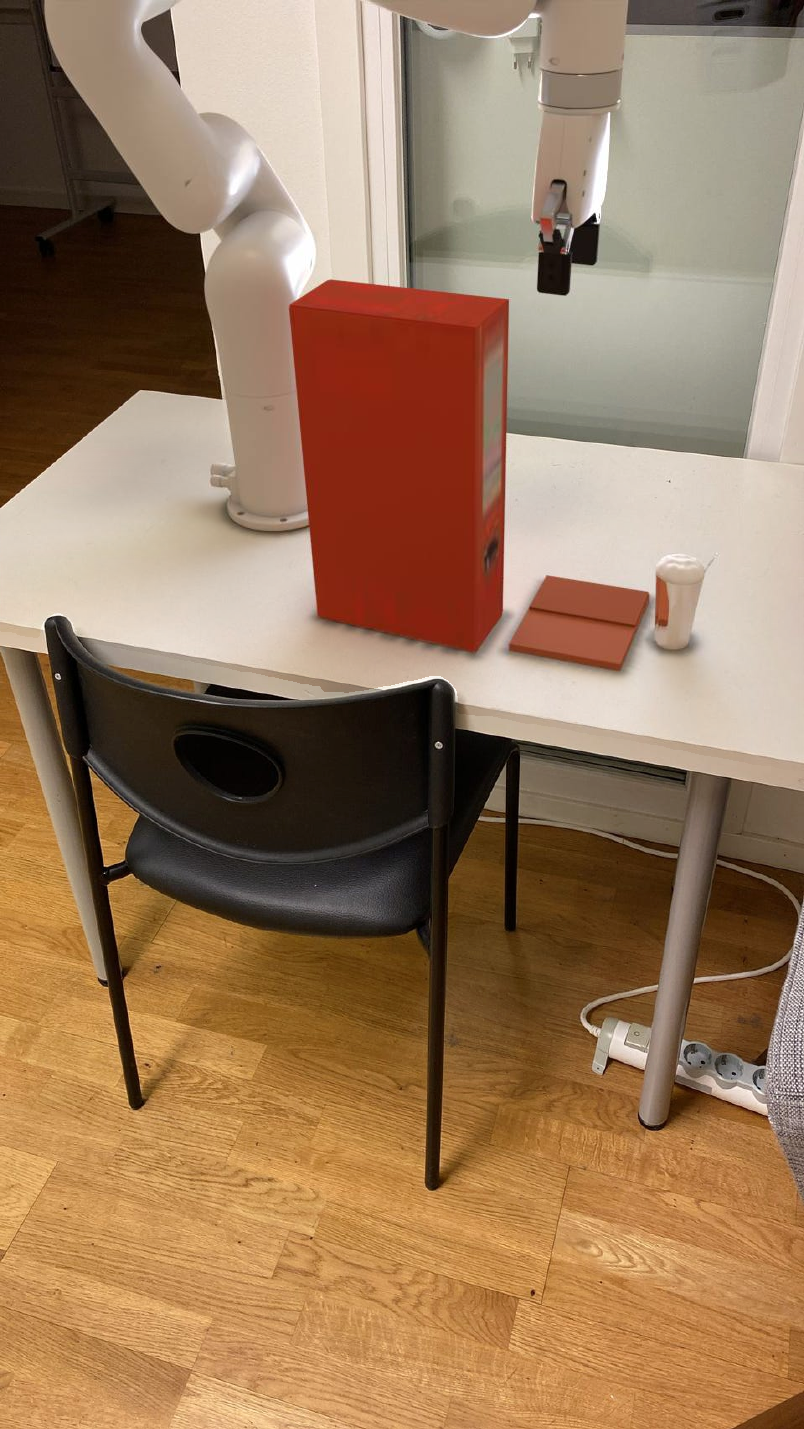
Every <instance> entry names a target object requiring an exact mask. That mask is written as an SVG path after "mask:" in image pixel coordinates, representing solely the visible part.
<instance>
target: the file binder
mask: <svg viewBox="0 0 804 1429" xmlns="http://www.w3.org/2000/svg"><path fill="white" fill-rule="evenodd" d="M289 306H290V307H289V315H290V326H291V337H292V347H293V358H294V369H295V379H296V390H297V401H298V412H299V422H300V433H301V444H302V454H303V465H304V476H305V487H306V497H307V508H308V519H309V525H308V527H309V539H310V550H311V559H312V561H311V562H312V571H313V572H312V573H313V581H314V582H313V583H314V593H315V594H314V595H315V602H316V614H317V617H318V618H322V619H326V620H330V621H335V622H339V623H343V624H348V625H353V626H356V627H361V628H365V629H370V630H375V631H378V632H384V633H388V634H392V635H395V636H401V637H405V638H410V639H414V640H418V641H423V642H427V643H432V644H436V645H441V646H445V647H450V648H454V649H459V650H462V651H467V652H472V653H475V652H477V651H478V649H480V647H481V646H482V644H483V643H484V642H485V640H486V638H487V637H488V636H489V634H490V633H491V632H492V630H493V629H494V627H495V626H496V624H497V623H498V622H499V620H500V619H501V618H502V616H503V612H504V578H505V577H504V576H505V574H504V573H505V572H504V571H505V526H506V480H507V479H506V478H507V476H506V475H507V473H506V472H507V430H508V428H507V426H508V425H507V424H508V423H507V422H508V378H509V377H508V376H509V375H508V373H509V331H510V330H509V327H510V326H509V323H510V321H509V320H510V299H509V298H501V297H493V296H492V297H491V296H483V295H474V294H466V293H455V292H447V291H439V290H429V289H422V288H421V289H420V288H412V287H403V286H394V285H393V286H392V285H386V284H385V285H384V284H375V283H367V282H358V281H351V280H350V281H348V280H339V279H332V278H331V279H330V278H329V279H327V280H325V281H324V282H322V283H320V284H319V285H317V286H316V287H314V288H313V289H311V290H310V291H308V292H306V293H304V294H303V295H301V297H299V299H297V300H296V301H294V302H293V303H291V304H290V305H289Z"/></svg>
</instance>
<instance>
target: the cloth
mask: <svg viewBox="0 0 804 1429" xmlns="http://www.w3.org/2000/svg"><path fill="white" fill-rule="evenodd" d="M650 596H651V594H650V592H649V591H645V590H639V589H633V588H628V587H621V586H616V585H615V586H614V585H609V584H603V583H596V582H590V581H584V580H578V579H573V578H566V577H560V576H553V575H548V574H547V575H545V578H544V579H543V581H542V582H541V584H540V586H539V588H538V590H537V592H536V594H535V595H534V597H533V599H532V601H531V602H530V605H529V606H528V609H527V610H526V612H525V614H524V616H523V618H522V620H521V621H520V623H519V624H518V627H517V629H516V630H515V633H514V634H513V636H512V638H511V640H510V641H509V643H508V650H509V651H511V652H515V653H516V652H517V653H521V654H528V655H533V656H538V657H542V658H543V657H544V658H548V659H554V660H559V661H565V662H569V663H574V664H575V663H576V664H581V665H587V666H591V667H596V668H602V669H608V670H613V671H619V672H620V671H622V670H621V669H622V668H623V665H624V662H625V660H626V658H627V655H628V653H629V651H630V648H631V645H632V643H633V641H634V639H635V636H636V633H637V632H638V628H639V626H640V624H641V621H642V619H643V616H644V614H645V611H646V610H647V607H648V604H649V602H650Z"/></svg>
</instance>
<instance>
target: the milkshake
mask: <svg viewBox="0 0 804 1429" xmlns="http://www.w3.org/2000/svg"><path fill="white" fill-rule="evenodd" d="M717 555H718V553H717V552H716V553H715V554H714V555H713V557H712V558H711V560H710V561H709V562H708V564H707V566H706V567H705V566H704V565H703V563H702V562H701V561H700V560H699V559H698V558H696V557H694V556H692V555H688V554H685V553H677V554H675V553H672V554H667V555H666V556H664V557H662V558H661V559H660V560H659V561H658V562H657V563H656V565H655V570H654V572H655V578H654V579H655V599H654V600H655V602H654V637H653V638H654V641H655V643H656V645H657V646H659V647H660V648H662V649H665V650H670V651H671V650H672V651H677V650H681V649H684V648H686V646H687V645H688V644H689V642H690V638H691V635H692V634H691V633H692V629H693V625H694V621H695V616H696V611H697V608H698V602H699V598H700V594H701V590H702V587H703V582H704V579H705V575H706V572H707V571H708V569H709V568H710V566H711V565H712V563H713V562H714V560H715V559H716V557H717Z"/></svg>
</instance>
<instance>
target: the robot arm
mask: <svg viewBox="0 0 804 1429" xmlns="http://www.w3.org/2000/svg"><path fill="white" fill-rule="evenodd" d="M181 1H183V0H44V19H45V26H46V30H47V34H48V39H49V42H50V44H51V47H52V50H53V53H54V54H55V57H56V59H57V61H58V63H59V65H60V67H61V68H62V70H63V72H64V74H65V75H66V77H67V79H68V80H69V81H70V83H71V84H72V86H73V87H74V89H75V91H76V92H77V93H78V94H79V96H80V97H81V98H82V100H83V101H84V102H85V104H86V106H87V107H88V108H89V109H90V111H91V112H92V114H93V115H94V116H95V118H96V119H97V121H98V123H99V124H100V125H101V126H102V128H103V129H104V131H105V133H106V134H107V136H108V137H109V139H110V140H111V142H112V144H113V145H114V147H115V149H116V150H117V152H118V153H119V154H120V156H121V157H122V159H123V160H124V162H125V163H126V164H127V166H128V168H129V169H130V171H131V173H132V174H133V175H134V177H135V178H136V180H137V181H138V182H139V184H140V185H141V187H142V188H143V190H144V191H145V193H146V195H147V196H148V197H149V199H150V200H151V201H152V203H153V205H154V207H155V208H156V209H157V211H158V212H159V213H160V214H161V216H163V218H164V220H166V221H167V222H168V223H169V224H170V225H172V226H173V227H174V228H175V229H176V230H179V231H181V232H184V233H186V234H195V235H197V234H203V233H206V232H209V231H212V230H213V231H214V233H215V234H216V236H217V237H218V239H219V241H220V242H219V243H218V245H217V246H216V248H215V249H214V250H213V252H212V255H211V256H210V258H209V260H208V262H207V266H206V270H205V275H204V287H203V288H204V298H205V305H206V309H207V312H208V315H209V319H210V322H211V326H212V329H213V333H214V337H215V341H216V346H217V353H218V358H219V364H220V371H221V377H222V386H223V388H224V395H225V402H226V410H227V416H228V422H229V423H228V424H229V431H230V432H229V433H230V439H231V446H232V454H233V462H234V464H229V463H226V462H219V461H214V462H212V463H211V466H210V475H211V477H210V482H209V483H210V486H211V487H214V488H221V489H222V488H224V489H225V488H226V489H227V490H228V491H229V492H230V495H229V496H228V498H227V501H226V506H227V513H228V516H229V517H230V518H231V520H233V522H235V523H237V524H238V525H240V526H242V527H244V528H247V529H251V530H255V531H260V532H261V531H262V532H283V531H284V532H285V531H292V530H296V529H300V528H301V529H302V528H304V527H307V526H309V519H308V508H307V497H306V487H305V476H304V465H303V454H302V444H301V433H300V422H299V412H298V401H297V390H296V379H295V369H294V358H293V347H292V337H291V326H290V315H289V307H290V306H289V305H290V304H291V303H293V302H294V301H296V300H297V299H299V298H300V295H301V294H302V292H303V289H304V288H305V286H306V284H307V283H308V281H309V279H310V277H311V275H312V273H313V270H314V267H315V264H316V263H315V262H316V245H315V239H314V236H313V234H312V231H311V229H310V227H309V225H308V223H307V221H306V219H305V217H304V216H303V214H302V212H301V211H300V210H299V207H298V206H297V205H296V203H295V201H294V199H293V198H292V197H291V195H290V193H289V192H288V190H287V188H286V187H285V186H284V183H283V182H282V180H281V179H280V178H279V176H278V174H277V172H276V171H275V170H274V168H273V166H272V165H271V163H270V161H269V160H268V158H267V156H266V154H265V153H264V152H263V150H262V149H261V147H260V146H259V144H258V143H257V141H256V140H255V139H254V138H253V136H252V134H250V133H249V132H248V130H246V129H245V127H243V126H242V125H241V124H240V123H239V122H237V121H236V120H234V119H233V118H231V117H229V116H227V115H224V114H221V113H217V112H206V111H205V112H200V113H198V111H197V110H196V109H195V108H194V106H193V105H192V103H191V101H190V100H189V99H188V97H187V95H186V94H185V93H184V91H183V89H182V87H181V86H180V84H179V82H178V80H177V79H176V77H175V76H174V74H173V73H172V72H171V70H170V69H169V68H168V67H167V64H165V63H164V61H163V60H162V59H160V57H159V56H158V55H157V54H156V53H155V52H154V51H153V50H152V48H151V47H150V46H149V45H148V43H147V42H146V41H145V38H144V36H143V33H142V26H143V23H144V22H147V21H149V20H151V19H153V18H155V17H157V16H159V15H162V14H163V13H165V12H167V11H169V10H170V9H172V8H173V7H175V6H177V4H179V3H180V2H181ZM359 1H360V2H363V3H367V4H370V5H373V6H375V7H378V8H381V9H382V10H386V11H388V12H391V13H394V14H397V15H399V16H401V17H405V18H407V19H411V20H414V21H418V22H421V23H423V24H424V23H425V24H429V25H431V26H435V27H439V28H443V29H446V30H450V31H453V32H458V33H461V34H464V35H465V34H466V35H469V36H473V37H478V38H485V39H492V38H493V39H494V38H502V37H505V36H508V35H510V34H512V33H514V32H516V31H518V29H520V28H521V27H522V26H523V25H524V24H525V23H526V22H527V20H528V19H530V18H540V20H541V32H540V54H539V55H540V57H539V77H538V97H537V98H538V99H537V100H538V102H537V108H538V109H539V110H541V111H543V112H542V117H541V122H540V128H539V134H538V141H537V150H536V158H535V169H534V178H533V190H532V203H531V204H532V205H531V220H532V223H533V224H535V225H540V230H539V233H538V238H539V242H538V247H537V250H538V256H537V258H538V259H537V277H536V278H537V279H536V291H537V292H538V293H539V294H545V295H546V294H547V295H555V296H565V297H566V296H568V295H569V293H571V292H570V291H571V278H572V265H573V264H574V265H581V266H582V265H584V266H595V265H596V264H597V262H598V255H599V254H598V253H599V242H600V228H601V224H600V221H601V216H602V211H601V206H602V204H603V202H604V200H605V195H606V194H605V193H606V188H607V187H606V186H607V179H608V178H607V177H608V167H609V149H610V128H611V127H610V126H611V112H615V111H617V110H619V109H620V105H621V93H622V83H623V82H622V80H623V70H624V68H623V67H624V58H625V44H626V31H627V21H628V20H627V19H628V8H629V0H359ZM561 230H564V232H563V236H562V232H561Z"/></svg>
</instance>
